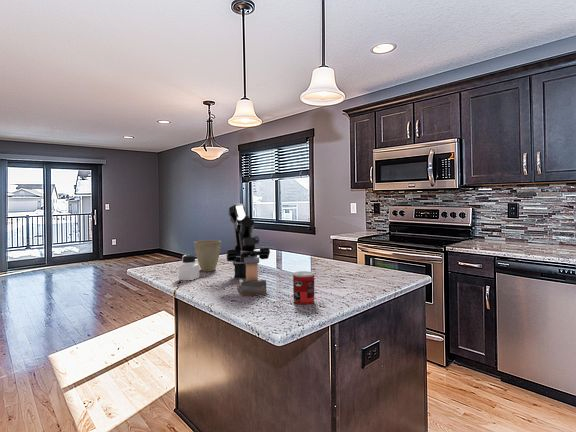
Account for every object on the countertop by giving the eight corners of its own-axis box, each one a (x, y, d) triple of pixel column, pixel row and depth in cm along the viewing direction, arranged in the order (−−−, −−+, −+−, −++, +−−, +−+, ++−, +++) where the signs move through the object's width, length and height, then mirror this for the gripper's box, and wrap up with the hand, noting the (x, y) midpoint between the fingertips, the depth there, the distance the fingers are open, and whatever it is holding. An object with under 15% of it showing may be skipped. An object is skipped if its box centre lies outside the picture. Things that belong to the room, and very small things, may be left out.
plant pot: (227, 268, 203) (226, 240, 202) (211, 273, 189) (210, 243, 189) (205, 266, 209) (204, 239, 208) (188, 271, 196) (187, 242, 195)
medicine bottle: (199, 277, 180) (198, 254, 179) (191, 281, 173) (190, 256, 172) (187, 277, 182) (186, 253, 181) (178, 280, 175) (178, 255, 175)
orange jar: (243, 286, 154) (242, 257, 153) (258, 285, 155) (257, 256, 155) (245, 290, 148) (245, 259, 147) (261, 289, 149) (260, 258, 149)
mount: (237, 287, 159) (237, 275, 159) (259, 285, 162) (259, 273, 162) (242, 296, 145) (242, 282, 145) (266, 293, 148) (266, 280, 148)
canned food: (292, 299, 140) (292, 271, 139) (312, 298, 141) (312, 270, 140) (294, 305, 132) (294, 275, 132) (316, 304, 133) (315, 275, 132)
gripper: (226, 231, 155) (230, 260, 145) (268, 229, 160) (274, 258, 150) (225, 246, 163) (228, 275, 153) (265, 244, 168) (270, 272, 158)
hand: (250, 270), depth 154 cm, fingers closed, pressing on orange jar
